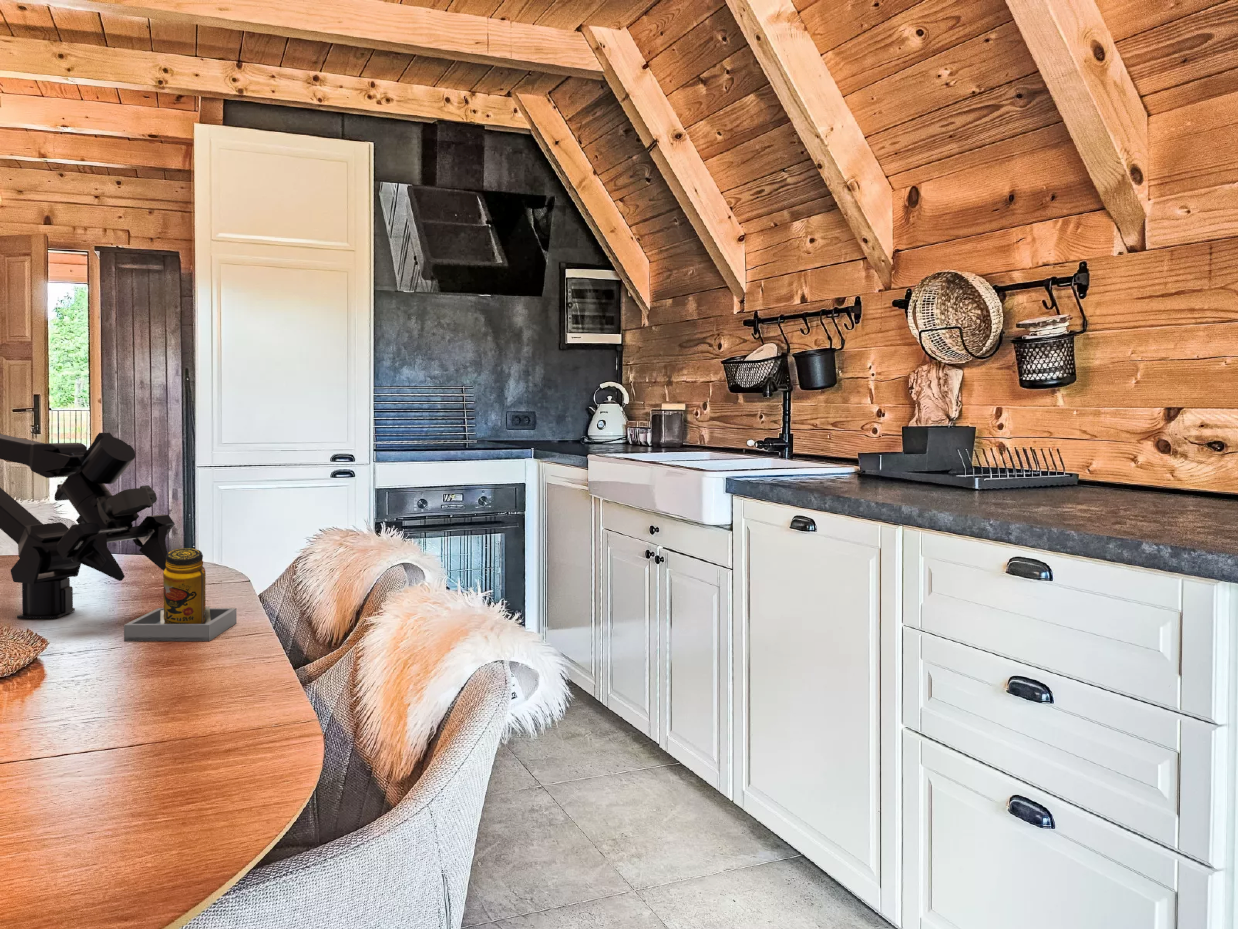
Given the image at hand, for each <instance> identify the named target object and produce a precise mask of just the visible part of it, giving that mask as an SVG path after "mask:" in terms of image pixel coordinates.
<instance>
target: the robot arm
mask: <svg viewBox="0 0 1238 929" xmlns="http://www.w3.org/2000/svg"><path fill="white" fill-rule="evenodd" d="M135 458H136V452H135V450H134V447H132V446H131V444H128V443H127V442H125V441H123V440H122V439H120V438H118V437H115V436H113V435H112V433H111V432H99V433H98V434H97V435H96V436H95V438H94V440H93V441H92V443H91V445H90V446H86V445H85V443H84V444H83V443H81V442H57V443H56V442H54V443H53V442H51V443H50V442H49V443H46V442H41V441H35V440H31V439H26V438H21V437H16V436H11V435H7V434H3V433H0V460H3V461H8V462H13V463H17V464H21V465H25V466H27V467H29V469H30V471H31V472H32V473H35V474H37V475H40V476H41V477H43V478H46V479H51V478H52V479H53V478H65V480H64V481H63V482H62V483H60V484H59V483H58V484H57V485H56V491H55V494H54V501H56V502H59V501H60V502H61V501H69V503H70V504H71V505H72V507H73V508H74V510H75V511H76V513H77V514H78V515H79V516H78V517H77V519H75V522H76V523H75V524H71V525H70V527H68V526H67V525H66V524H65V523H63V522H61V521H60V522H50V523H43V522H41V520H39V519H38V518H37V517H36V516H34V515H33V514H32V513H31V512H30V511H28V509H26V508H25V507H24V506H23V505H21V504H20V503H19V502H18V501H16V499H14V498H13V497H12V496H11V495H9V493H8V492H7V491H5V489H3V488H1V487H0V530H1V531H2V532H3V533H5V534H6V535H7V536H8V537H9V538H10V539H11V540H12V541H13V542H15V543H16V544H17V554H18V560H17V561H16V562H15V563H14V564H13V566H12V567H11V569H10V574H11V578H12V582H13V583H18V584H21V596H22V597H21V599H22V602H21V603H22V608H21V610H22V613H20V614H17V615H16V619H59V618H61V617H63V616H65V615H69V614H71V613H73V612H75V611H76V608H74V600H73V598H74V592H73V591H74V590H73V589H74V587H73V586H72V585H70V584H71V583H70V582H71V581H70V580H71V579H70V578H74V577H78V575H79V572H80V569H81V565H84V566H86V567H89V568H91V569H94V570H96V571H98V572H99V573H102V574H104V575H106V576H109V577H111V578H112V579H115V580H116V581H119V582H121V581H123V580H124V578H126V577H125V574H124V572H123V570H122V568H121V566H120V564H119V563H118V561H117V560H116V559H115V557H114V556H113V554H112V552H111V551H110V549H109V547H108V543H110V544H111V543H117V542H123V541H129V540H132V541H133V543H134V544H135V545H136V546H137V547H139V548H140V549H138V551H139V552H140V553H141V554H142V555H144V556H145V557H146V558H147V559H149V560H150V561H151V562H152V563H153V564H155V566H157V567H158V568H159V569H161V570H162V571H163V572H164V570H165V569H166V555H167V553H168V549H167V548H168V547H167V543H166V539H167V535H168V534H169V533H171V530H172V529H173V528H174V527H175V522H174V521H173V518H172V517H170V515H169V514H165V513H163V514H155V515H154V514H152V515H147V516H145V517H144V519H143V520H142V522H141V523H140V524H139V525H134V526H133V522H136V521H137V519H138V518H140V515H139V514H138V513H140V512H142V511H144V510H145V509H149V508H151V507H153V504H155V503H157V500H158V497H157V492H155V490H154V489H153V488H152V487H151V486H150V485H140V486H139V488H138V487H136V488H127V489H124V490H123V489H122V490H121V491H119V492H117V493H115V494H114V495H113V494H112V492H111V491H110V490H109V488H108V487H107V486H106V484H107V485H111V484H114V483H116V482H117V480H118V479H120V477H121V476H122V474H123V473H125V471H126V470H127V469H128V468H129V466H130V465H131V463H132V462H133V461H134V460H135Z"/></svg>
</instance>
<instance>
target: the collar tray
mask: <svg viewBox="0 0 1238 929" xmlns="http://www.w3.org/2000/svg"><path fill="white" fill-rule="evenodd" d="M161 610H164V607H158V608H156V609H154V610H152V611H150V612H147V613H146V614H143V615H141V616H140V617H138V618H136V619H133V620H131V621H129V622H127V623H125V624H124V625H123V641H124V642H210V641H212V640H213V639H215V638H216V637H218V636H220V634H223V633H224V632H226V631H227V630H229V629H230V628H232V627H233V626H234V625H236V624H237V618H238V617H237V612H238V611H237V608H235V607H234V608H233V607H231V608H230V607H229V608H228V607H221V608H220V607H218V608H216V607H213V608H212V607H210V618H211V621H210V622H208V623H206V624H160V617H161Z"/></svg>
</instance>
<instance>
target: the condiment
mask: <svg viewBox="0 0 1238 929" xmlns="http://www.w3.org/2000/svg"><path fill="white" fill-rule="evenodd" d="M203 557H204V555H203V553H202V551H201V550H199V549H197V548H192V547H191V548H190V547H182V548H176V549H172V550H170V551H168V552H167V555H166V569H165V570H164V571H163V572H162V575H163V581H162V582H163V583H162V584H163V590H162V592H163V608H164V610H161V617H160V624H206V623H208V622H210V621H211V618H210V608H211V607H210V605H207V606H206V604H207V603H206V582H207V581H206V568H205V567H204V566H203V565H204V560H203Z"/></svg>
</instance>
